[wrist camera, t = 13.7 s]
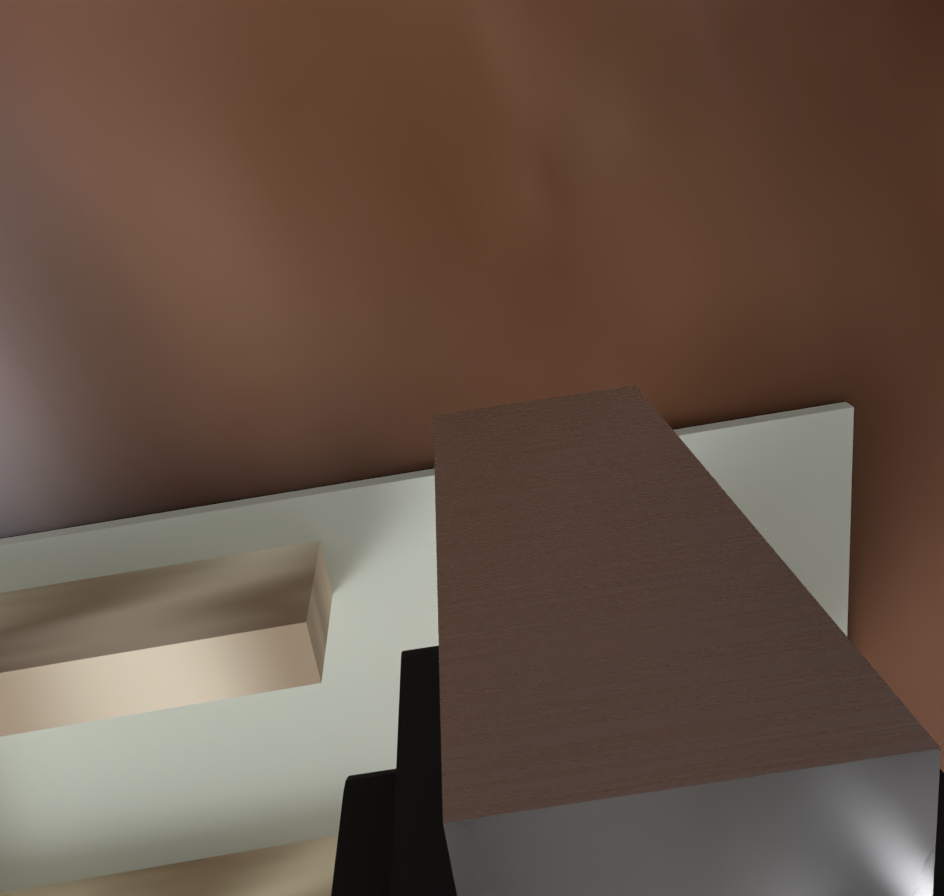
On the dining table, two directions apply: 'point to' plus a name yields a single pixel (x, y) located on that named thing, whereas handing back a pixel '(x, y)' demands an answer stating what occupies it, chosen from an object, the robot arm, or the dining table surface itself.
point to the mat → (327, 655)
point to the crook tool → (650, 679)
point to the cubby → (173, 681)
